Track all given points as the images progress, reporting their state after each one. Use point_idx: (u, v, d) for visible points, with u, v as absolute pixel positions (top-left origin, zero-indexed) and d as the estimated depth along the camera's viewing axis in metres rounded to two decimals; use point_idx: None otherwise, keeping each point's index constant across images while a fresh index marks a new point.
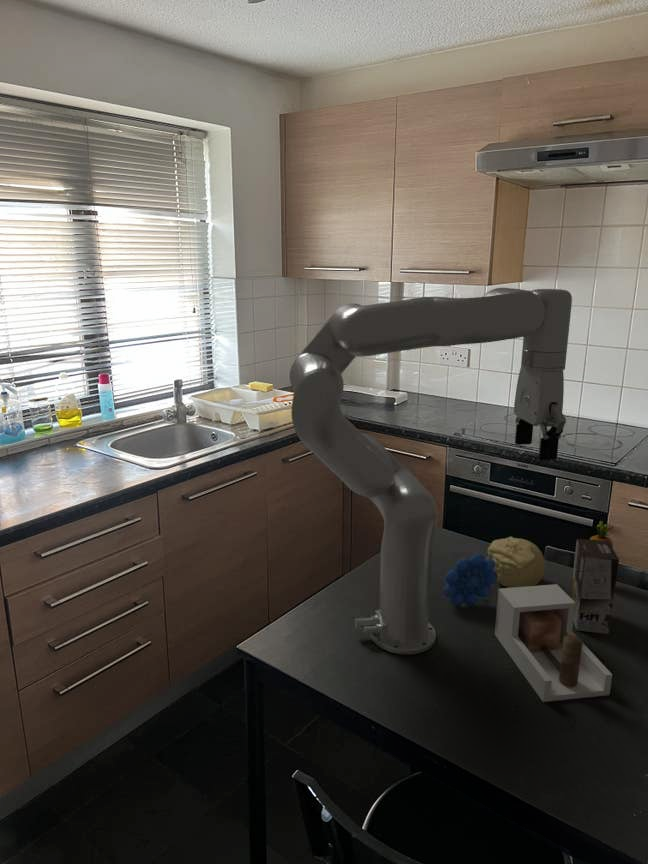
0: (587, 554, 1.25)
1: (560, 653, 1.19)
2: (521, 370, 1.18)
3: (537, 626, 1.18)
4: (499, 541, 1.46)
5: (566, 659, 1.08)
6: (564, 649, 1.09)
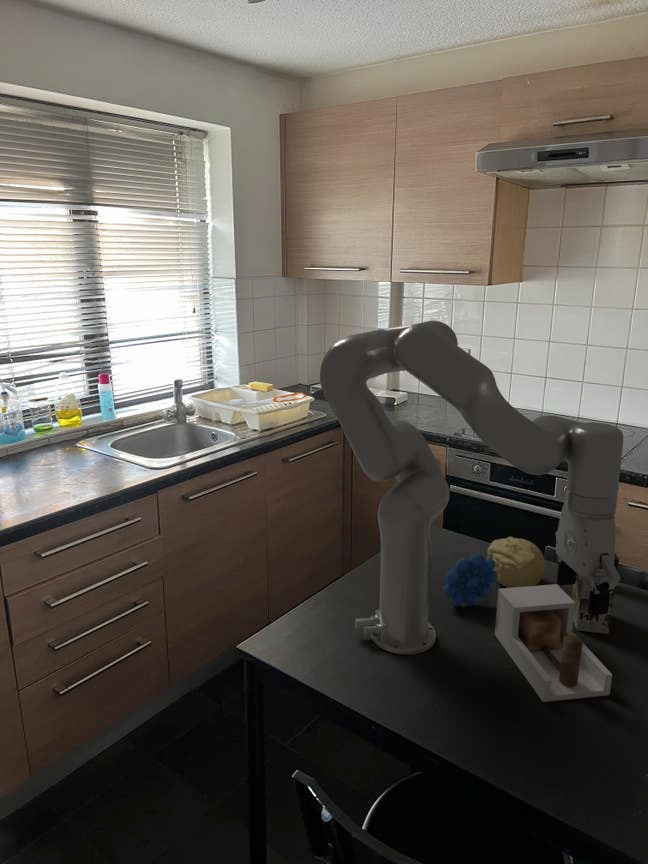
0: None
1: (560, 653, 1.19)
2: (564, 509, 1.05)
3: (537, 626, 1.18)
4: (499, 541, 1.46)
5: (566, 659, 1.08)
6: (564, 649, 1.09)
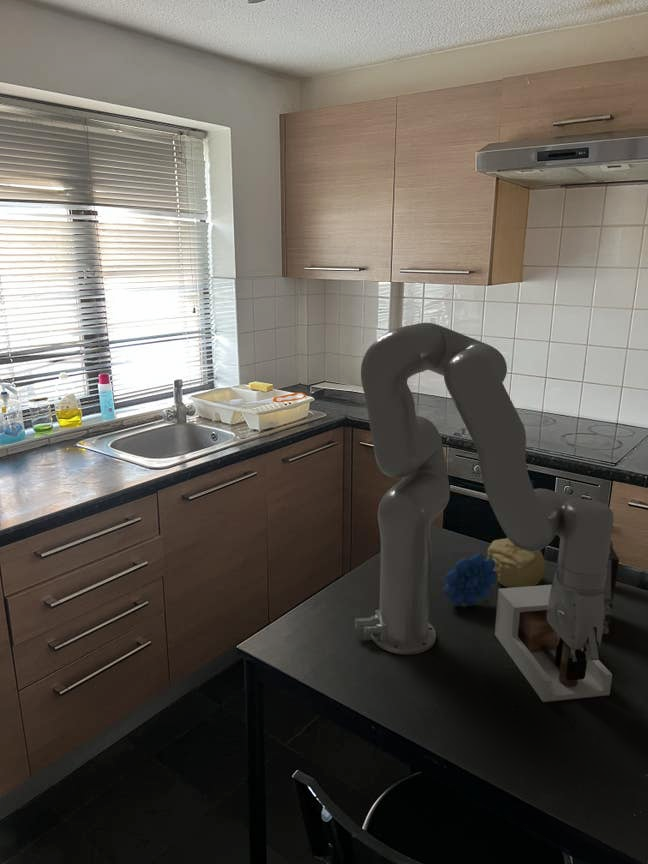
0: None
1: None
2: (555, 580, 1.08)
3: (537, 626, 1.18)
4: (499, 541, 1.46)
5: (566, 659, 1.08)
6: (564, 649, 1.09)
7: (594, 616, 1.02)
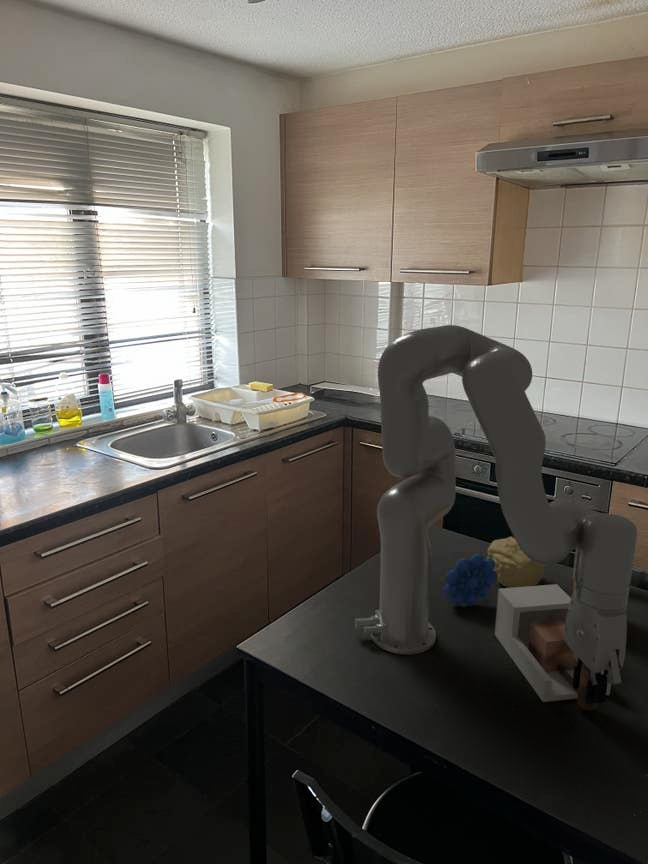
0: None
1: None
2: (574, 598, 1.03)
3: (553, 645, 1.12)
4: (499, 541, 1.46)
5: (585, 682, 1.03)
6: (583, 671, 1.03)
7: (616, 637, 0.96)
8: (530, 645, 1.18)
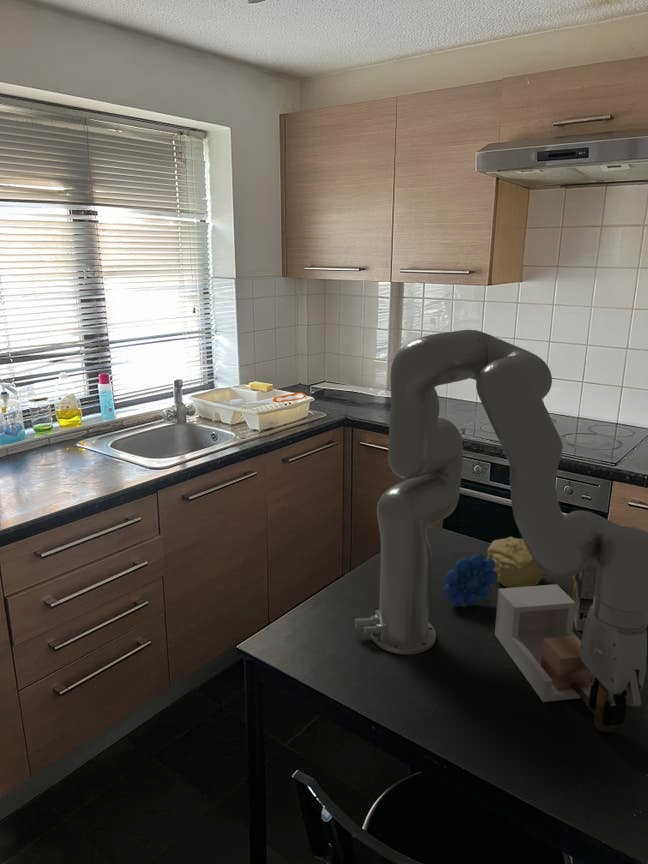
0: None
1: None
2: (591, 614, 0.98)
3: (568, 662, 1.07)
4: (499, 541, 1.46)
5: (602, 702, 0.98)
6: (600, 691, 0.98)
7: (636, 657, 0.91)
8: (543, 661, 1.13)
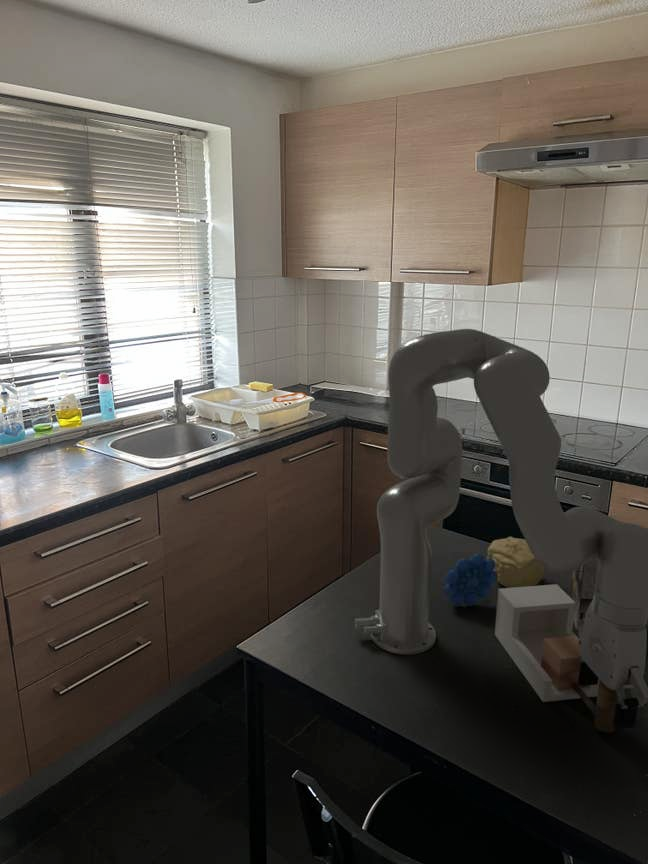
0: None
1: None
2: (590, 610, 0.98)
3: (568, 662, 1.07)
4: (499, 541, 1.46)
5: (602, 703, 0.98)
6: (600, 691, 0.98)
7: (636, 654, 0.91)
8: (543, 661, 1.13)
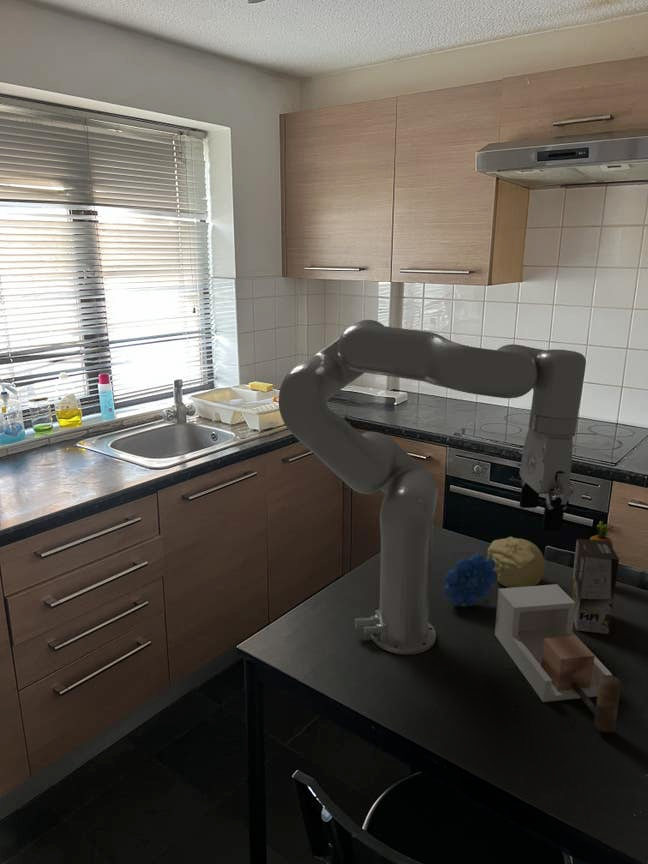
0: (587, 553, 1.25)
1: None
2: (529, 432, 1.11)
3: (568, 662, 1.07)
4: (499, 541, 1.46)
5: (602, 703, 0.98)
6: (600, 691, 0.98)
7: (562, 460, 1.05)
8: (543, 661, 1.13)
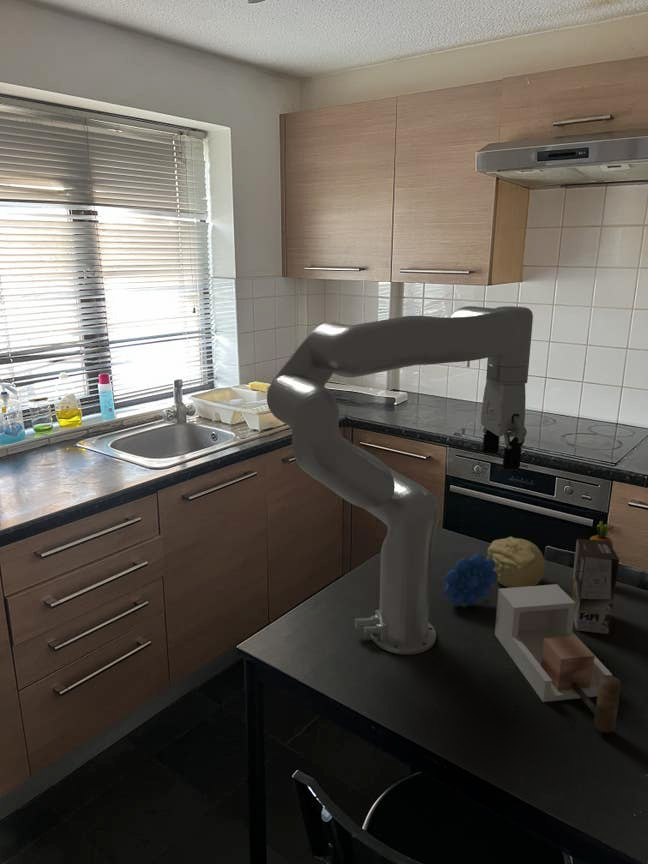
0: (587, 553, 1.25)
1: None
2: (487, 383, 1.24)
3: (568, 662, 1.07)
4: (499, 541, 1.46)
5: (602, 703, 0.98)
6: (600, 691, 0.98)
7: (516, 403, 1.17)
8: (543, 661, 1.13)
